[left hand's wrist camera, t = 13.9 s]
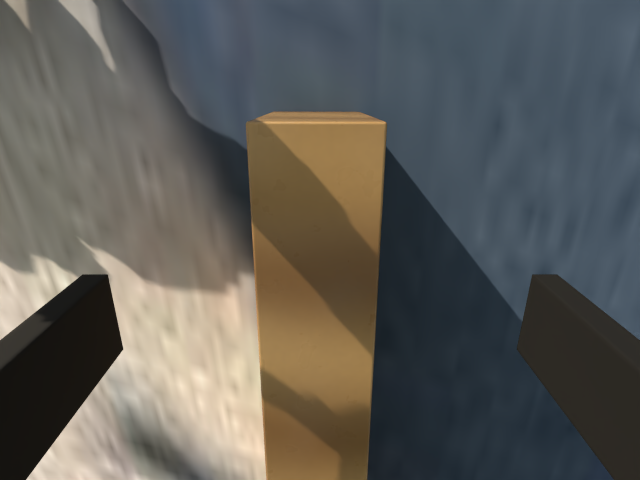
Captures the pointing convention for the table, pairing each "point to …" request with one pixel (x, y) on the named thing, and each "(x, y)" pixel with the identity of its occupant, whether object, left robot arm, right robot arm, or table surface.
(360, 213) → the bar
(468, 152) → the table surface
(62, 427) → the left robot arm
